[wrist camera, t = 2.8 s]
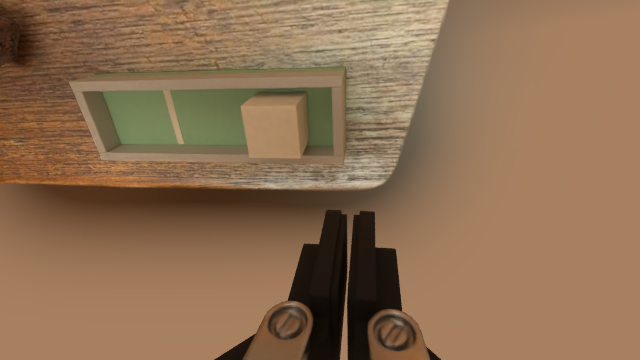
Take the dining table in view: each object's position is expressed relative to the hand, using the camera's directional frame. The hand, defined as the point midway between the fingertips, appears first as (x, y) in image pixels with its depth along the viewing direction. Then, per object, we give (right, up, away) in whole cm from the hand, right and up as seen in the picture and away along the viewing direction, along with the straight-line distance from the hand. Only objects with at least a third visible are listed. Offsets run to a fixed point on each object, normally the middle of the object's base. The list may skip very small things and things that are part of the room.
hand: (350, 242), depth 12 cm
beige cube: (-4, +8, +14) cm, 17 cm away
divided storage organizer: (-10, +9, +16) cm, 21 cm away
